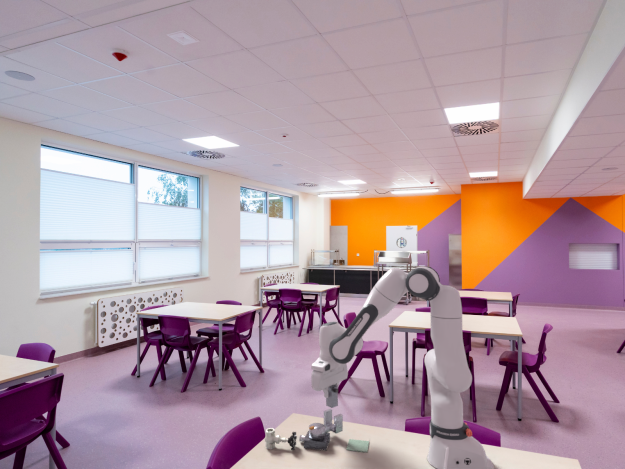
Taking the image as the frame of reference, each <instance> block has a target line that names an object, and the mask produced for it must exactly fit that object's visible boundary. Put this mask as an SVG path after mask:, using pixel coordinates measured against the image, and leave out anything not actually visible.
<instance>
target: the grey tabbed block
mask: <svg viewBox="0 0 625 469" xmlns="http://www.w3.org/2000/svg"><path fill="white" fill-rule="evenodd" d="M328 392H329V393H330V397H328V398H326V397H325V400H326V401H325V405H326V407H328V408H330V409H333V408H336V407H338V406H339V398H338V397H339V386H336V385H332V386H330V387H328Z"/></svg>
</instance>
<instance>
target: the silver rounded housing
mask: <svg viewBox="0 0 625 469" xmlns="http://www.w3.org/2000/svg"><path fill="white" fill-rule="evenodd" d="M343 416H344V415H343V414H342V413H339V414H336V415H333V408H328V409H326V410H323V423H321V422H313V423H310V425H309V426H308V431H309V437H310V438H311V439H314V440H320V439H323V438H324V437H325V433H331V432H332V433H334V434H338V433H341V432H343V430H344V428H343V427H344V426H343V423H344V422H343V418H344V417H343Z"/></svg>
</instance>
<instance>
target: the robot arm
mask: <svg viewBox="0 0 625 469" xmlns="http://www.w3.org/2000/svg"><path fill="white" fill-rule="evenodd" d="M440 279H441V278H440V275H439V273H438V272H437V271H436V270H435V269H434V268H432V267H430V266H417V267H415V268H412V269H411V270H410V271H409V272H406V271H404V270H403V269H402V268H399V267H391V268H390V269H388V270H387V271H386V272H385V273H384V274H383V275H381V277H380V278H379V279H378V281H377V282H376V283H375V285H374V286H373V287H372V289H371V291H369V294H368V295H367V297H366V299H365V301H364V303H363V305H362V306H361V308H360V310H359V312H358V314H357V315H356V316H355V318H354V319H353V320H352V322H351V323H350V324H349V326H348V327H347V328H346V327H344V326H342V325H341V324H340V323H339V322H337V321H330V322H326V323H323V324H322V325H321V326H320V328H319V335H318V336H319V337H318V345H319V349H320V350H319V356H318V357H317V359H316V360H315V361H314V362H313V363H312V364H311V370H312V372H311V378H310V379H311V388H312V390H313V391H315V392H321V391H323V394H324V395H323V396H324V398H325V399H326V398H328V397H330V393H329V392H328V387H330V386H332V385H336V386H338V387H339V386H340V382H342V381H344V380H347V379H348V377H349V376H348V375H349V370H348V363H349V362H351V361H352V359H353V358H355V357H356V355H358V354H359V353H360V352H361V351H362V350H363V347H364V339H363V336H364V335H365V334H366V333H367V331H368V330H369V329H370V327H371V326H373V325H374V324H375V323H376V322H378V321H380V320H381V319H382V318H384V317H385V316H387V315H388V314H389V313H390V312H392V310H393V309H394V308H395V307H396V306H397V304H398V303H400V301H401V299H402V298H403V297H404V296H405V294H407V293H409V294H411V295H412V296H413V297H416V298H419V299H422V300H425V301H427V302H429V305H430V338H431V342H432V345H433V348H432V349H429V350H428V351H427V352H426V354H425V356H424V366H425V369H426V375H427V383H428V389H429V393H430V394H429V395H430V411H431V412H430V413H431V416H430V420H429V435H430V443H429V449H428V453H427V456H426V460H427V461H428V463H429V464H430V465H431V466H432V467H434V468H435V469H495V467H494V464H493V461H492V460H491V458H490V457H489V456H487V454H486V450H485V448H484V446H483V444H481V442H480V441H479V440H477V439H476V438H475V437H474V436H473V431H472V430H471V429H470V426H469V425H468V423H467V422H465V421H464V402H463V399H462V396H461V393H463V392H466V391H468V390H469V388H470V387H471V386H472V382H473V375H472V372H471V370H470V368H469V364H468V360H467V355H466V349H465V346H464V345H465V344H464V339H463V338H464V337H463V306H462V300H461V295H460V292H459V290H458V289H457V288H456V287H454V286H451V285H448V284H447V285H444V284H442V283H441V280H440Z"/></svg>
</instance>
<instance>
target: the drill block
mask: <svg viewBox="0 0 625 469" xmlns="http://www.w3.org/2000/svg"><path fill="white" fill-rule="evenodd" d="M298 438H299V440H298V441H299V442H302V443H303V449H310V450H315V451H316V450H318V451H319V450H320V451H327V449H328V447H329V444H330V442H331V432H328V433H325V437H324V438H323V439H320V440H314V439H311V438H310V437H309V430H308V431H307V433H306V435H303V434H302V435H301V434H300V435H299V437H298Z"/></svg>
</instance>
